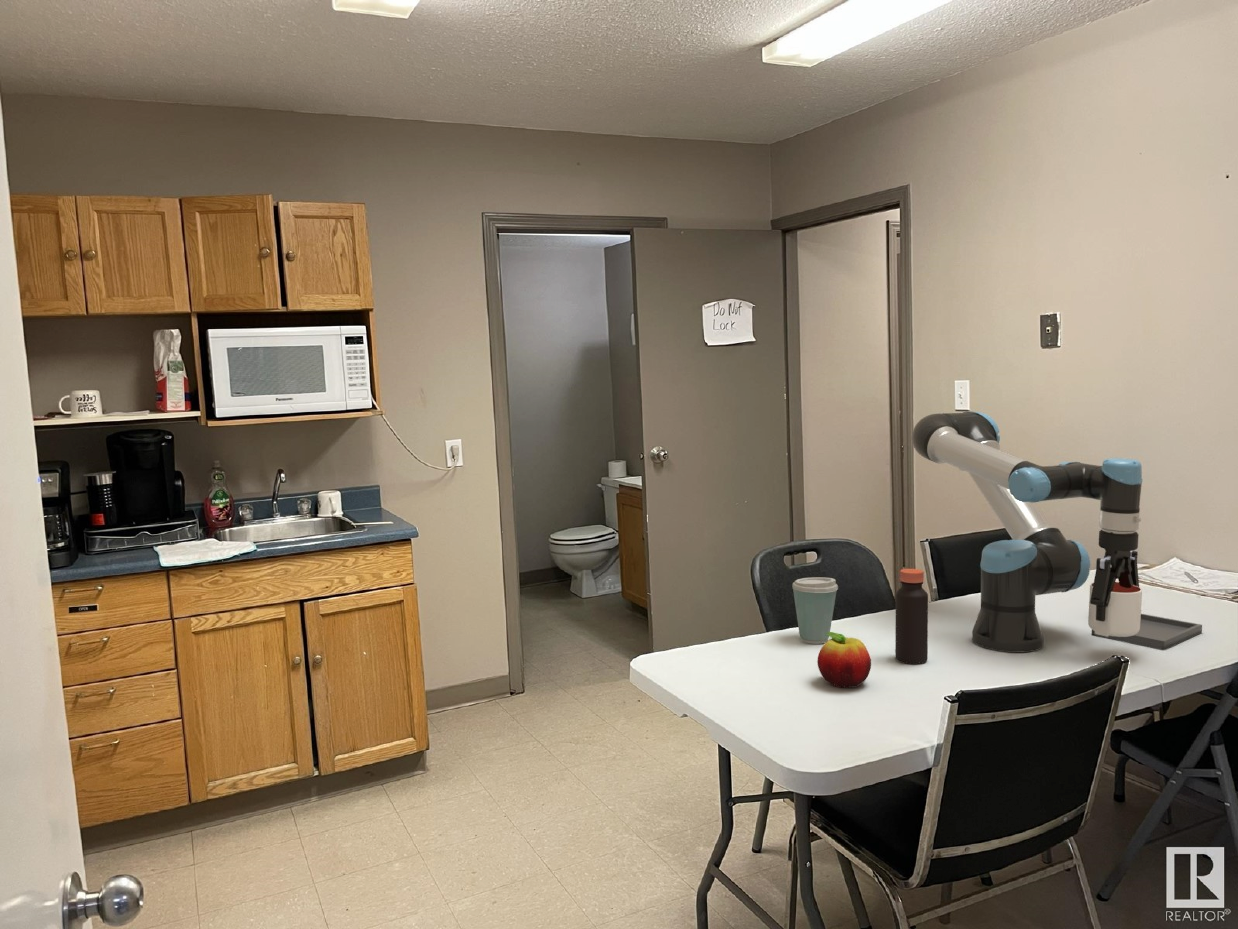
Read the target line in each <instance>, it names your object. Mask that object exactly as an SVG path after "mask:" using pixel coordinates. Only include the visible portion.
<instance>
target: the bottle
mask: <svg viewBox="0 0 1238 929" xmlns="http://www.w3.org/2000/svg"><path fill="white" fill-rule="evenodd" d="M924 573H925V572H924V570H922V569H919V568H902V569H900V570H899V580H900V581H899V582H900V584H901V586H900V587H899V588H898V589H897V591H896V592H895V624H894V625H895V628H894V629H895V632H894V633H895V638H894V639H895V641H894V642H895V647H894V648H895V650H894V652H895V660H896V661H898V662H900V663H902V664H908V665H922V664H924V663H926V662H927V661H928V658H929V656H928V653H929V652H928V647H929V644H928V641H929V640H928V639H929V637H928V636H929V635H928V634H929V632H928V630H929V629H928V628H929V627H928V626H929V625H928V624H929V620H928V619H929V594H928V592H927V591H926V589H924V588H923V584H924V576H925V575H924Z"/></svg>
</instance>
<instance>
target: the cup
mask: <svg viewBox="0 0 1238 929" xmlns="http://www.w3.org/2000/svg"><path fill="white" fill-rule="evenodd" d="M1093 584H1094V582H1091V583H1090V584H1089V602H1088V620H1087V621H1088V627H1089V628H1090V629H1091V631H1092V630H1093V631H1095V614H1096V605H1093V604H1091V603H1090V600H1091V594H1092V589H1093ZM1142 599H1143V589H1142V588H1141V587H1140V586H1139V587H1138V586H1135V585H1131V588H1125V587H1122V586H1120V584H1119V581H1115V584H1114V588H1113V591H1112V592H1111V597H1110V601H1109V604H1108V606H1110V624H1109V636H1116V637H1128V636H1133V635H1135V634H1137V633H1138V632H1139V630H1140V620H1141V614H1142Z"/></svg>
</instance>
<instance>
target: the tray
mask: <svg viewBox="0 0 1238 929" xmlns="http://www.w3.org/2000/svg"><path fill="white" fill-rule="evenodd" d="M1094 633H1095V631H1093V630H1092V629H1091V636H1094V637H1095V636H1096V637H1098V638H1099V637H1100V638H1105V639H1110V640H1114V641H1119V642H1124V643H1129V644H1132V645H1133V644H1134V645H1138V646H1143V647H1147V648H1152V649H1157V650H1162V651H1164V650H1168V649H1170V648H1172V647H1174V646H1176V645H1179V644H1181V643H1183V642H1185V641H1187V640H1190V639H1192V638H1194V637H1196V636H1199V635H1200V634H1202V633H1203V624H1200V623H1195V622H1189V621H1183V620H1179V619H1173V618H1168V617H1163V616H1156V615H1152V614H1146V613H1141V620H1140V630H1139V632H1138V633H1137V634H1135V635H1133V636H1128V637H1116V636H1108V637H1106V636H1102V635H1098V634H1094Z"/></svg>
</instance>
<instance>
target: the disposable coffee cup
mask: <svg viewBox="0 0 1238 929" xmlns="http://www.w3.org/2000/svg"><path fill="white" fill-rule="evenodd" d="M791 587H792V590H793V597H794V598H793V599H794V605H795V612H796V620H797V626H798V634H799V637H800V640H801V642H803V643H806V644H814V645H816V644H817V645H820V644H825V643H826V642H827V641H829V638H830V636H828V635H827V633H828V632H831V629H832V628H831V627H832V621H833V617H834V616H833V615H834V609H835V603H836V597H837V596H836V595H837V590H839V586H838V584H837V583H836V579H835V578H832V577H819V576H818V577H816V576H815V577H814V576H813V577H803V578H798V579H796V580H794V582H792V586H791Z"/></svg>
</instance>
